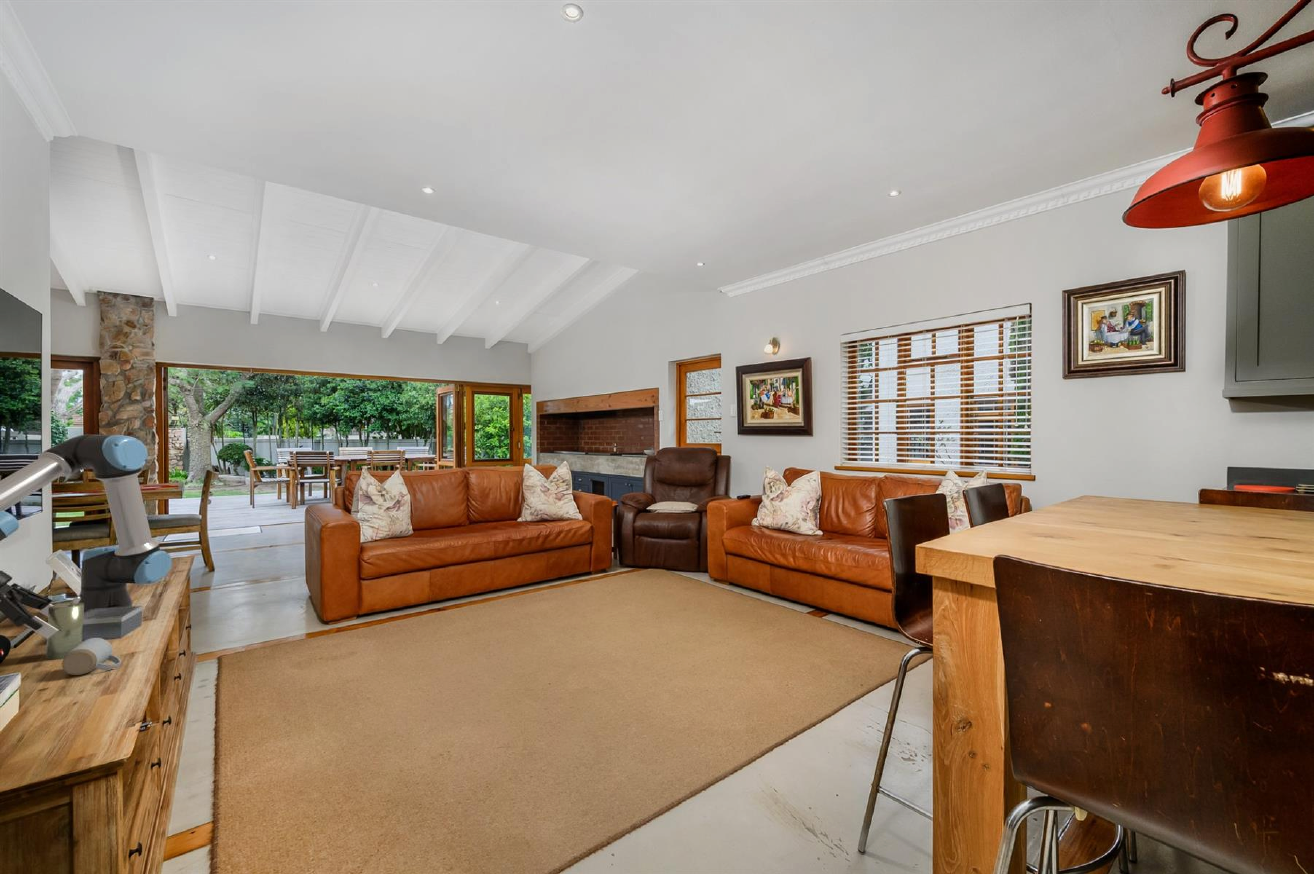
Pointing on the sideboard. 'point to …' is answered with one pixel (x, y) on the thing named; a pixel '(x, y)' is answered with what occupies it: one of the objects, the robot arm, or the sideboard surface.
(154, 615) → the sideboard surface
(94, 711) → the sideboard surface
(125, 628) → the grey rectangular tray
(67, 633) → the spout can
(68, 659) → the ceramic mug
